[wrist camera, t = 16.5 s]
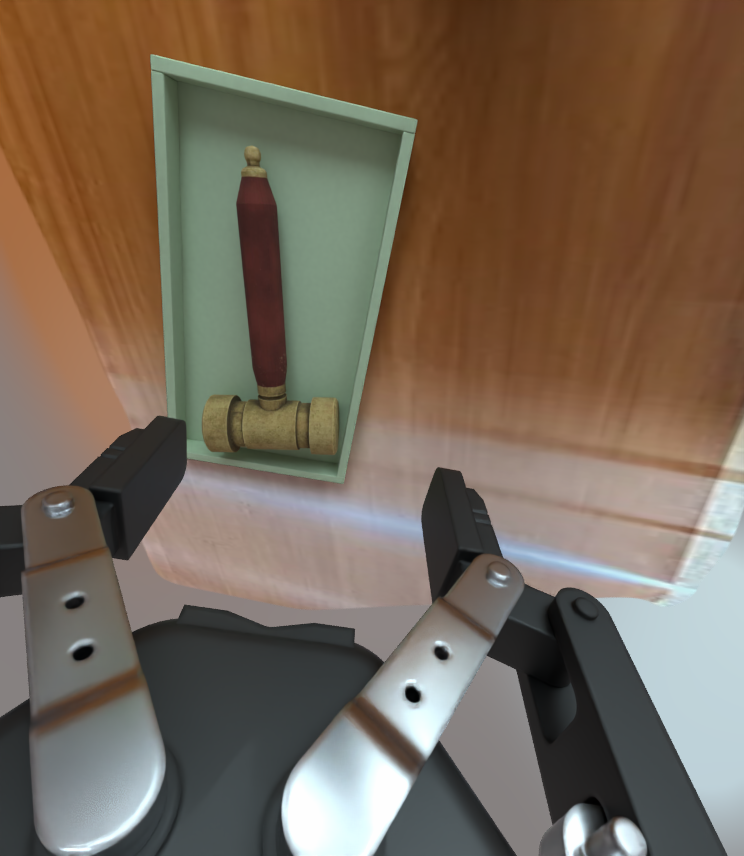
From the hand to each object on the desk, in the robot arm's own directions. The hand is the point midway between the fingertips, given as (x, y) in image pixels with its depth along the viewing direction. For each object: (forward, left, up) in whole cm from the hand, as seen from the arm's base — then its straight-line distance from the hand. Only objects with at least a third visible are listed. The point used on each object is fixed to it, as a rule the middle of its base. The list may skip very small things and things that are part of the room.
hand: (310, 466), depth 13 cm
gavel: (+1, -6, -21) cm, 21 cm away
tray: (+1, -5, -21) cm, 22 cm away
